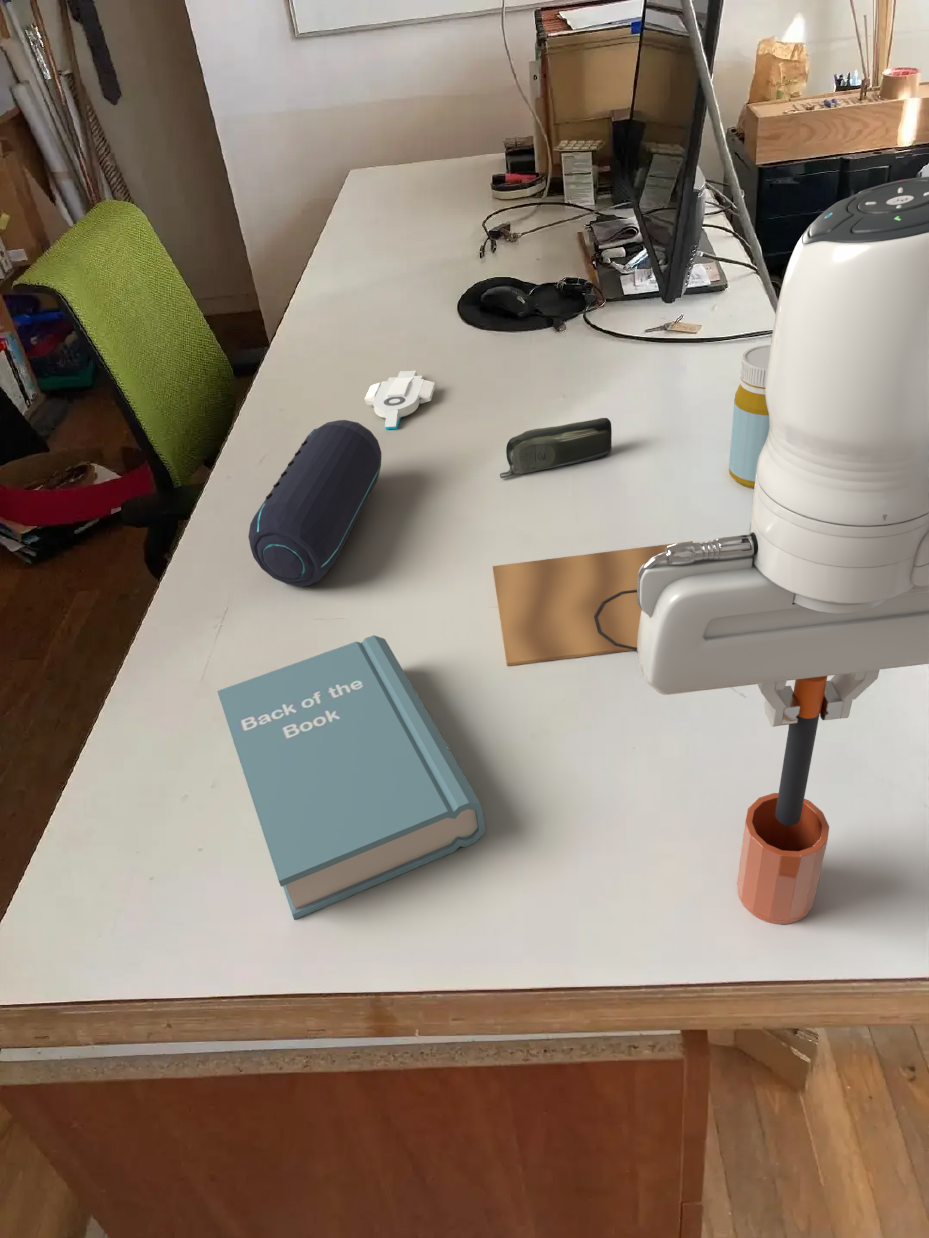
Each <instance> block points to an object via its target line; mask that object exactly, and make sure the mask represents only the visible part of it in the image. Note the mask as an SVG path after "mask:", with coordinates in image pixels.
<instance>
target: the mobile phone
mask: <svg viewBox="0 0 929 1238" xmlns="http://www.w3.org/2000/svg"><path fill="white" fill-rule="evenodd" d="M612 432H613V429H612V422H611V420H610V419H609V418H608V417H600V418H594V419H589V420H585V421H576V422H572V423H568V424H567V423H566V424H562V425H556V426H548V427H547V426H546V427H542V428H541V427H540V428H534V429H533V428H532V429H530V430H526V431H524V432H522V433H521V434H518V435H516V436H513V437H511V438H510V439H509V440H508V442H507V444H506V448H505V454H506V460H507V464H508V465H509V466H508V467H509V470H508V471H505V472H501V473H500V474H499V477H500V479H505V478H509V477H513V476H518V475H522V474H527V473H533V472H538V471H543V470H549V469H553V468H557V467H563V466H569V465H574V464H578V463H584V462H588V461H595V460H599V459H602V458H604V457H606V456H608V455H610V453H611V452H612V441H613V440H612V438H613V437H612Z"/></svg>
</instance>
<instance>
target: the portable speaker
mask: <svg viewBox="0 0 929 1238" xmlns="http://www.w3.org/2000/svg"><path fill="white" fill-rule="evenodd" d="M381 467H382V450H381V446H380V443H379V440H378V438H377V437H376V436H375V435H374V434H373V432H372V431H371V430H370V429H368V428H367V427H365V426H364V425H362V423H359V422H358V421H357V422H356V421H352V420H348V419H339V420H338V419H337V420H333V421H332V420H331V421H328V422H326V423H324V424H322V425H321V426H319V427H317V428H314V429H312V430H311V431H310V433H309V434H307V436H306V438H305V439H304V440H303V441H302V442H301V444H300V446H299V448H298V450H297V451H295V453H294V455H293V457H292V459H291V460H290V461H289V462H288V464H287V466H286V468H285V469H284V471H283V472H281V474H280V477H279V478H278V480H277V481H276V483H274V484H273V485H272V487H273V488H272V489H271V490H270V492H269V493H268V494H267V495H266V496H265V499H264V501H263V503H262V504H261V505H260V507H259V508H258V510H257V511H256V513H255V514H254V516H253V517H252V520H251V522H250V524H249V531H248V541H249V547H250V550H251V554H252V556H253V559H254V560H255V562H256V563H257V565H258V566H259V567H260V569H261V570H263V572H265V573H266V574H267V575H269V576H270V577H271V578H273V579H274V580H276V581H278V582H281V583H283V584H286V585H288V586H293V587H300V588H301V587H306V586H311V585H313V584H314V583H317V582H319V581H321V579H323V578H324V577H325V575H326V574H327V573H328V571H329V570H330V569H331V568H332V566H333V565H334V564H335V562H336V561H337V559H338V557H339V556H340V553H341V551H342V549H343V547H344V545H345V543H346V542H347V540H348V538H349V536H350V534H351V532H352V530H353V528H354V526H355V525H356V522H357V521H358V518H359V516H360V515H361V512H362V511H363V509H364V507H365V505H366V503H367V501H368V499H369V497H370V495H371V493H372V491H373V489H374V487H375V485H376V483H377V482H378V479H379V476H380V472H381Z"/></svg>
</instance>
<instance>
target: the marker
mask: <svg viewBox="0 0 929 1238" xmlns="http://www.w3.org/2000/svg"><path fill="white" fill-rule="evenodd" d="M826 681H828V676H822V677H814V678H805V679H797V680H794V686H793V692H794V695H793V697H795V698H797V700H798V702H799V705H800V711H799V714H798V715H797V718H798V722H797V723H796V724H789V725H788V731H787V737H786V743H785V749H784V757H783V761H782V762H783V763H782V768H781V775H780V780H779V781H780V782H779V788H778V793H779V794H778V800H777V806H776V813H775V816H776V818H777V820H778V821H779V822H780V823H782V824H784V825H786V826H792V825H796V824H797V823H798V822H799V821H800V818H801V813H802V807H803V802H804V799H805V795H806V791H807V785H808V779H809V775H810V769H811V764H812V759H813V758H812V757H813V752H814V746H815V741H816V737H817V730H818V724H819V719H820V713H821V708H822V703H823V698H824V692H825V687H826Z"/></svg>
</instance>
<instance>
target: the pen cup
mask: <svg viewBox="0 0 929 1238" xmlns="http://www.w3.org/2000/svg"><path fill="white" fill-rule="evenodd" d="M778 794H779V792H773V793H769V794H766V795H763V796H760V797H758V798H757V799H755V801H754V802H752V804H751V805H750V806H749V807H748V808H747V812H746V816H745V821H744V827H743V828H744V829H743V837H742V844H741V849H740V850H741V851H740V859H739V864H738V865H739V866H738V873H737V881H736V889H737V896H738V898H739V900H740V902H741V904H742V906H743V907H744V908H745V909H746V910H747V911H748V912H749V913H750V914H752V916H754V917H755V918H757V919H759V920H762V921H763V922H766V923H770V924H775V925H789V924H794V923H797V922H798V921H800V920H802V919H804V918H805V917H806V916H807V915H808V914H809V913H810V912H811V909H812V908H813V905H814V902H815V897H816V895H817V894H816V893H817V888H818V885H819V879H820V876H821V871H822V867H823V863H824V857H825V854H826V850H827V844H828V840H829V833H830V825H829V823H828V820H827V818H826V816H825V814H824V812H823V811H822V810H821V809H820V808H819V807H818V806H817V805H815V804H814V803H813V802H812V801H811V800H809V799H807V798H804V802H803V807H802V813H801V818H800V821H799V822H798V823H797V824H796V825H792V826H786V825H784V824H782V823H780V822H779V821H778V820H777V818H776V816H775V813H776V806H777V800H778Z"/></svg>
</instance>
